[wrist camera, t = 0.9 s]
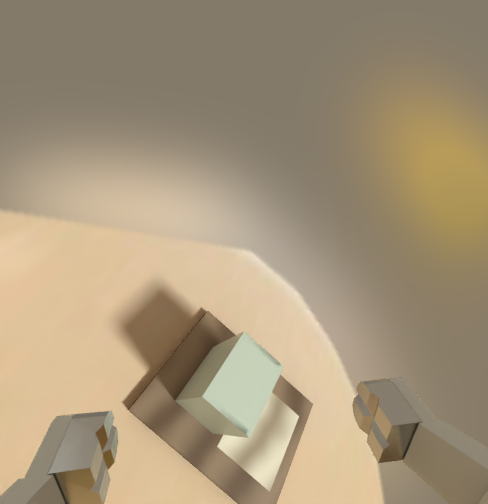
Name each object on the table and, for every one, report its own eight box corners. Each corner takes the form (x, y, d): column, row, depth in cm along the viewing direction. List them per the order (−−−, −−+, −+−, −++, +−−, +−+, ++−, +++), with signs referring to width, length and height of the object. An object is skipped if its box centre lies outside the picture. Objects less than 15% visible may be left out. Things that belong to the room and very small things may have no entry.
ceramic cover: (174, 400, 36) (202, 396, 28) (212, 347, 41) (244, 331, 33) (212, 433, 36) (249, 438, 28) (245, 376, 41) (283, 366, 34)
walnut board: (128, 410, 34) (129, 409, 33) (205, 312, 44) (208, 310, 43) (263, 525, 35) (268, 527, 34) (308, 404, 45) (313, 404, 44)
